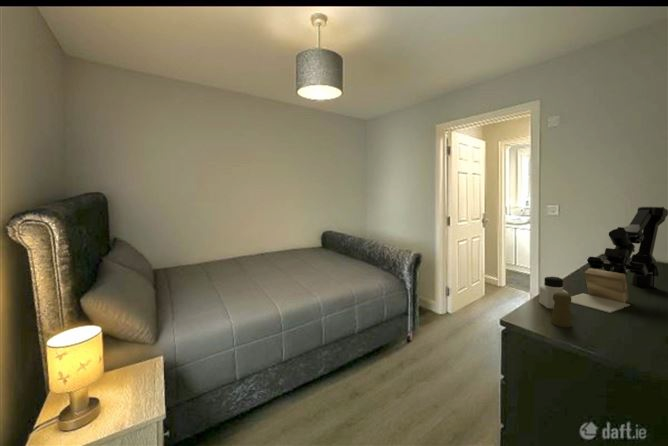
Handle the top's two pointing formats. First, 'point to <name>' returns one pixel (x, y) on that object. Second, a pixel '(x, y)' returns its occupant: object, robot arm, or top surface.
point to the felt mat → (597, 303)
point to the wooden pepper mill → (561, 310)
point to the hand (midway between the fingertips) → (608, 280)
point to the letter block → (607, 285)
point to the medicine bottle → (550, 291)
